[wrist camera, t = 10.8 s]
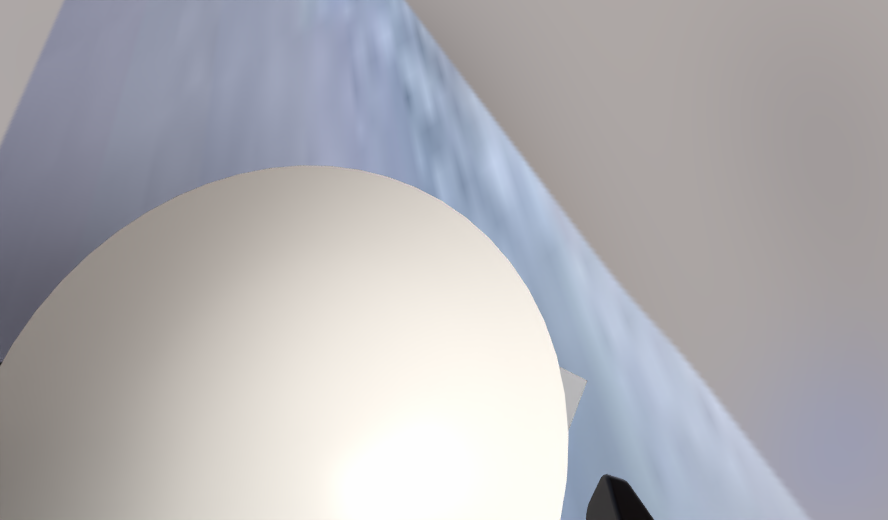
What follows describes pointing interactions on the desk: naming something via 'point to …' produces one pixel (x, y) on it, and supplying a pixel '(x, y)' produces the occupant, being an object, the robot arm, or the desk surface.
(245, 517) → the white cylinder
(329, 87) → the desk surface
